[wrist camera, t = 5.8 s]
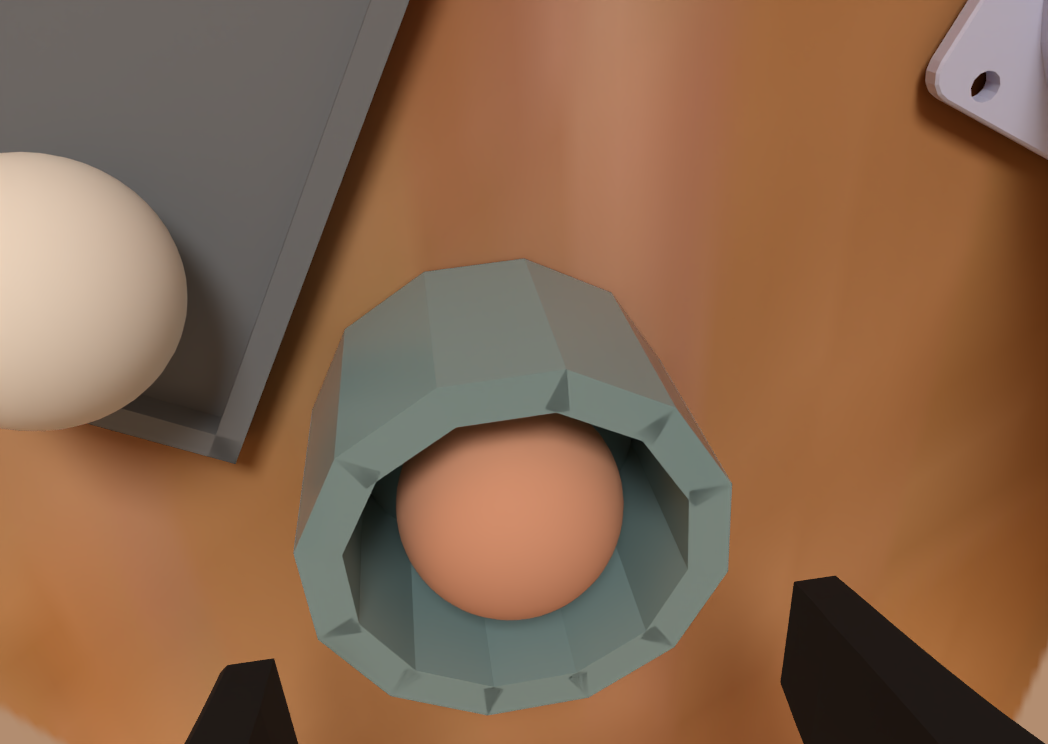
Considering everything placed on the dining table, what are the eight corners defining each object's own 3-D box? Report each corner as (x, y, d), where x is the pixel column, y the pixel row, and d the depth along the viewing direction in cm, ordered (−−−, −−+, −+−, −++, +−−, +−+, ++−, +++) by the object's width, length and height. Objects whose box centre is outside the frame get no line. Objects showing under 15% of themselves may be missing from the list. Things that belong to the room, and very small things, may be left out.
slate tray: (493, -236, 12) (500, -244, 11) (241, 437, 17) (235, 463, 16) (-61, -563, 10) (-98, -599, 9) (-172, 319, 15) (-204, 344, 14)
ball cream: (237, 180, 14) (191, 276, 11) (173, 379, 16) (115, 518, 12) (-33, 79, 13) (-184, 150, 9) (-73, 306, 14) (-214, 438, 11)
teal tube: (720, 334, 17) (810, 454, 14) (568, 584, 20) (609, 739, 16) (394, 207, 15) (398, 310, 11) (272, 507, 18) (244, 667, 14)
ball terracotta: (590, 336, 16) (653, 457, 13) (596, 503, 18) (651, 647, 15) (376, 366, 16) (382, 501, 12) (406, 535, 18) (419, 691, 14)
